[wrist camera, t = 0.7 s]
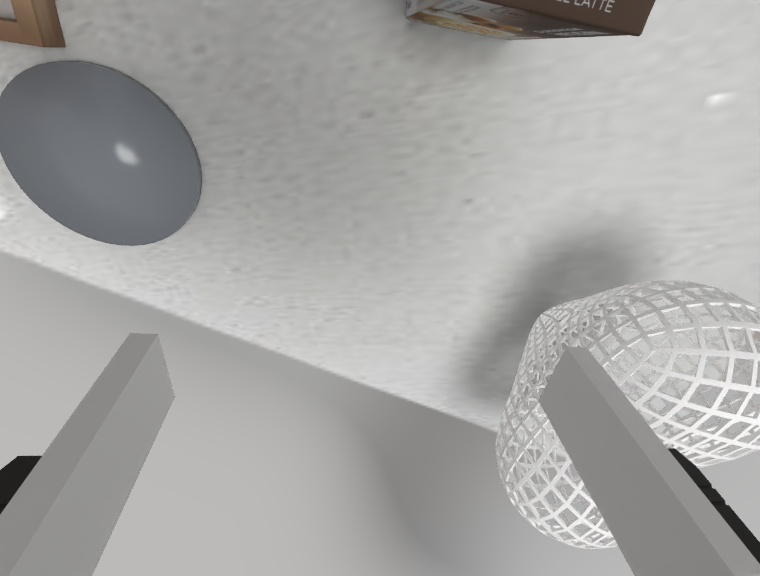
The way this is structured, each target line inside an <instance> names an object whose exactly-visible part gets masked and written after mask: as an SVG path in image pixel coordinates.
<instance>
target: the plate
mask: <svg viewBox="0 0 760 576" xmlns="http://www.w3.org/2000/svg"><path fill="white" fill-rule="evenodd" d="M0 152H1V155H2V157H3V159H4V161H5V164H6V166H7V168H8V169H9V171H10V173H11V175H12V176H13V178H14V179H15V181H16V182H17V183H18V185H19V186H20V188H21V189H22V190H23V191H24V192H25V193H26V195H27V196H28V197H29V198H30V199H31V200H32V201H33V202H34V203H35V204H36V205H37V206H38V207H39V208H40V209H42V210H43V211H44V212H45V213H47V214H48V215H49V216H50V217H52V218H53V219H55V220H56V221H58V222H59V223H61V224H62V225H64V226H66V227H67V228H69V229H71V230H73V231H75V232H77V233H79V234H81V235H84V236H86V237H89V238H92V239H95V240H98V241H101V242H105V243H110V244H116V245H129V246H135V245H145V244H150V243H154V242H157V241H160V240H163V239H165V238H167V237H169V236H170V235H172V234H173V233H175V232H176V231H177V230H179V229H180V228H181V227H182V226H183V224H184V223H185V222H186V221H187V220H188V219H189V218H190V216H191V215H192V213H193V212H194V210H195V208H196V206H197V204H198V201H199V197H200V194H201V185H202V176H201V167H200V162H199V158H198V155H197V152H196V149H195V147H194V144H193V142H192V140H191V138H190V136H189V134H188V132H187V131H186V129H185V127H184V126H183V124H182V123H181V122H180V120H179V119H178V117H177V116H176V115H175V114H174V113H173V111H172V110H171V109H170V108H169V107H168V106H167V105H166V104H165V103H164V102H163V101H162V100H161V99H160V98H159V97H158V96H157V95H155V94H154V93H153V92H152V91H150V90H149V89H148V88H146V87H145V86H144V85H142V84H140V83H139V82H137V81H136V80H134V79H132V78H131V77H129V76H127V75H124V74H122V73H120V72H118V71H116V70H113V69H110V68H107V67H105V66H102V65H97V64H93V63H88V62H78V61H66V62H50V63H45V64H40V65H36V66H34V67H31V68H29V69H27V70H25V71H23V72H22V73H20V74H19V75H17V76H16V77H15V78H14V79H13V80H12V81H11V82H10V83H9V84H8V85H7V86H6V88H5V89H4V91H3V92H2V94H1V96H0Z"/></svg>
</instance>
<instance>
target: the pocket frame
mask: <svg viewBox="0 0 760 576" xmlns="http://www.w3.org/2000/svg"><path fill="white" fill-rule="evenodd" d="M11 3H12V6H13V10H14V13H15V16H16V20H12V19H6V18H0V40H2V41H8V42H14V43H20V44H27V45H33V46H39V47H65V43H64V39H63V35H62V31H61V27H60V23H59V19H58V15H57V11H56V7H55V3H54V0H11Z"/></svg>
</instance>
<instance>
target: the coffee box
mask: <svg viewBox="0 0 760 576" xmlns="http://www.w3.org/2000/svg"><path fill="white" fill-rule="evenodd" d="M654 3H655V0H408V2H407V10H406V18H407V19H409V20H413V21H417V22H421V23H426V24H431V25H436V26H440V27H445V28H450V29H455V30H460V31H465V32H471V33H476V34H481V35H486V36H491V37H496V38H501V39H506V40H521V39H546V38H569V37H595V36H618V35H632V36H640V35H641V34H642V31H643V29H644V26H645V24H646V21H647V19H648V16H649V14H650V12H651V9H652V7H653V5H654Z"/></svg>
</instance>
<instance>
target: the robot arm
mask: <svg viewBox="0 0 760 576" xmlns="http://www.w3.org/2000/svg"><path fill="white" fill-rule="evenodd" d="M174 397H175V396H174V392H173V389H172V385H171V381H170V377H169V373H168V370H167V366H166V362H165V359H164V355H163V351H162V347H161V344H160V339H159V336H158V334H140V333H130V334H129V335H128V337H127V338H126V340H125V341H124V343H123V344H122V345H121V347H120V348H119V349H118V351H117V352H116V354H115V355H114V356H113V358H112V359H111V361H110V362H109V363H108V365H107V366H106V368H105V369H104V371H103V372H102V373H101V375H100V376H99V377H98V379H97V380H96V382H95V383H94V384H93V386H92V387H91V389H90V390H89V391H88V393H87V394H86V396H85V397H84V398H83V400H82V401H81V402H80V404H79V405H78V407H77V408H76V409H75V411H74V412H73V414H72V415H71V417H70V418H69V419H68V421H67V422H66V424H65V425H64V426H63V428H62V429H61V431H60V432H59V433H58V435H57V436H56V437H55V439H54V440H53V442H52V443H51V444H50V446H49V447H48V449H47V450H46V451H45V453H44V454H43V456H17V457H16V458H15V459H14V460H12V461H11V462H10V463H9V464H7V465H6V466H5V467H4V468H2V469H1V470H0V576H92V575H93V572H94V570H95V568H96V566H97V564H98V562H99V559H100V557H101V555H102V553H103V551H104V549H105V546H106V544H107V542H108V540H109V538H110V536H111V534H112V531H113V529H114V527H115V525H116V523H117V521H118V518H119V516H120V514H121V512H122V510H123V507H124V505H125V503H126V501H127V499H128V497H129V495H130V493H131V490H132V488H133V486H134V484H135V482H136V479H137V477H138V475H139V473H140V471H141V468H142V466H143V464H144V462H145V460H146V458H147V456H148V454H149V451H150V449H151V447H152V445H153V443H154V441H155V438H156V436H157V434H158V432H159V430H160V428H161V425H162V423H163V421H164V419H165V417H166V415H167V413H168V410H169V408H170V406H171V404H172V402H173V400H174ZM538 401H539V402H540V404H541V406H542V408H543V410H544V411H545V413H546V415H547V417H548V419H549V421H550V422H551V424H552V426H553V428H554V430H555V432H556V433H557V435H558V437H559V439H560V441H561V442H562V444H563V446H564V448H565V450H566V452H567V453H568V455H569V457H570V459H571V461H572V462H573V464H574V466H575V468H576V470H577V471H578V473H579V475H580V477H581V479H582V481H583V483H584V484H585V486H586V488H587V490H588V492H589V493H590V495H591V497H592V499H593V501H594V503H595V504H596V506H597V508H598V510H599V512H600V513H601V515H602V517H603V519H604V521H605V523H606V524H607V526H608V528H609V530H610V532H611V534H612V535H613V537H614V539H615V541H616V543H617V544H618V546H619V548H620V550H621V552H622V554H623V555H624V557H625V559H626V561H627V563H628V564H629V566H630V568H631V570H632V572H633V574H634V575H635V576H760V542H759V541H758V540H757V539H756V537H755V536H754V535H753V534H752V533H751V531H750V530H749V529H748V528H747V527H746V526H745V524H744V523H743V522H742V521H741V519H740V518H739V517H738V516H737V515H736V513H735V512H734V511H733V510H732V509H731V507H730V506H729V505H726V504H725V500H724V499H723V498H722V497H721V495H720V494H719V493H718V492H717V491H716V490H715V489H713V488H712V487H711V484H710V482H709V481H708V480H707V479H706V478H705V476H704V475H703V474H702V473H701V471H700V470H699V469H698V468H697V467H696V465H694V464H693V463H692V462H691V461H690V460H688V459H687V458H686V457H685V456H684V455H682V454H681V453H680V452H679V451H677V450H676V449H675V448H667V447H666V446H665V445H664V444H663V442H662V441H661V440H660V439H659V437H658V436H657V435H656V434H655V432H654V431H653V430H652V429H651V427H650V426H649V425H648V424H647V422H646V421H645V420H644V419H643V417H642V416H641V415H640V414H639V412H638V411H637V410H636V409H635V407H634V406H633V405H632V404H631V402H630V401H629V400H628V399H627V397H626V396H625V395H624V394H623V392H622V391H621V390H620V389H619V387H618V386H617V385H616V384H615V382H614V381H613V380H612V379H611V377H610V376H609V375H608V374H607V372H606V371H605V370H604V369H603V367H602V366H601V365H600V364H599V362H598V361H597V360H596V359H595V357H594V356H593V355H592V354H591V352H590V351H589V350H588V349H587V347H566V348H565V350H564V352H563V354H562V356H561V358H560V360H559V362H558V364H557V366H556V368H555V370H554V371H553V373H552V375H551V377H550V379H549V381H548V383H547V385H546V387H545V389H544V391H543V393H542V395H541V397H540V398H539V400H538Z"/></svg>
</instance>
